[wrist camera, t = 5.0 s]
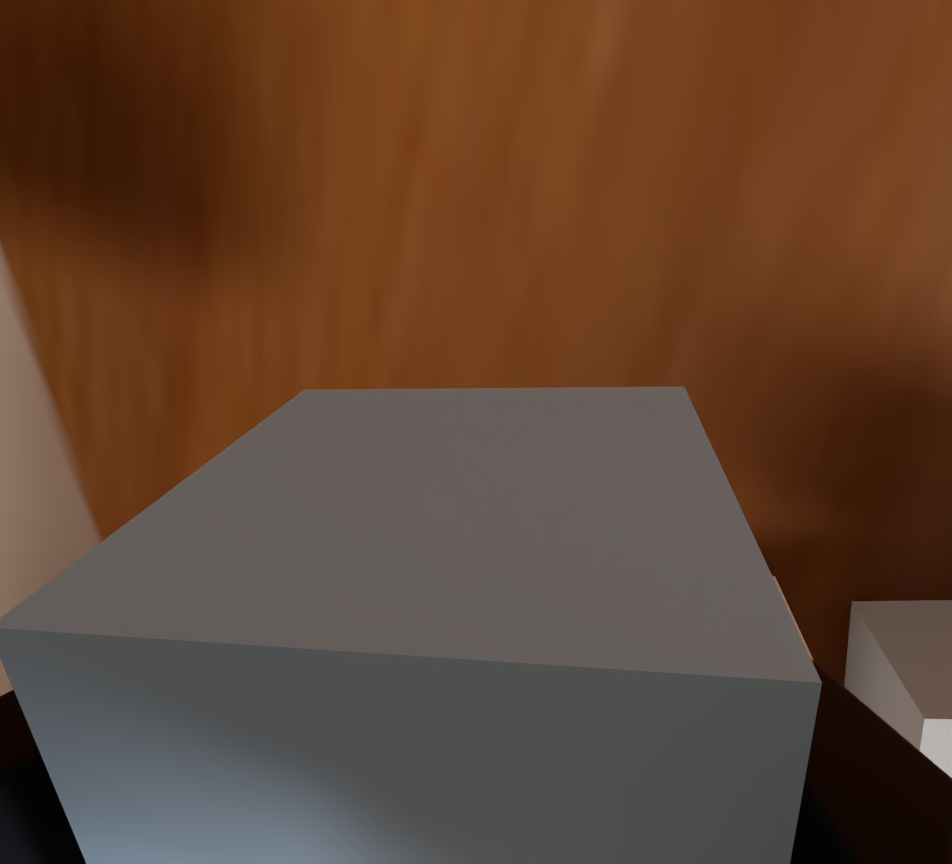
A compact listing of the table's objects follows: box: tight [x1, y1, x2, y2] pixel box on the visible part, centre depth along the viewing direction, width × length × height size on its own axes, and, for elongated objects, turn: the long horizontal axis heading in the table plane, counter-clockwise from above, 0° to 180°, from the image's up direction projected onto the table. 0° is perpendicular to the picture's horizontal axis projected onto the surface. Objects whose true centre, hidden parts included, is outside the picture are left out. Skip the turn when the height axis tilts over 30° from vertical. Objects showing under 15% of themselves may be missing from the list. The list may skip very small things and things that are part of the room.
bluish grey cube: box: [0, 387, 822, 864], centre depth 7 cm, size 5×5×5 cm
